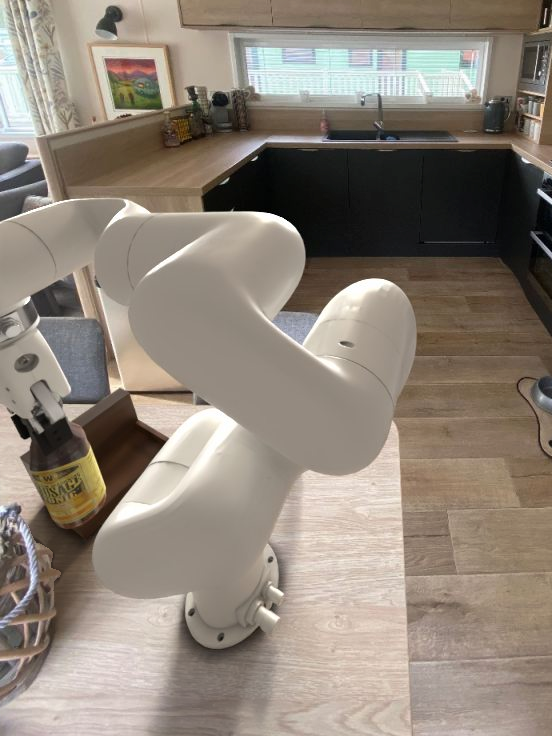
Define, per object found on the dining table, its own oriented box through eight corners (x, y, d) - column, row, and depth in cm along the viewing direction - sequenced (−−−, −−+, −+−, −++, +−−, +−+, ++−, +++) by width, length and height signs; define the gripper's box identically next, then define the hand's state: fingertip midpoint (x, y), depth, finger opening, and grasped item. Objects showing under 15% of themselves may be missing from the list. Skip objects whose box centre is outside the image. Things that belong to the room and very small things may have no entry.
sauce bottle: (46, 537, 53) (-15, 431, 45) (71, 491, 58) (21, 390, 51) (99, 526, 54) (49, 421, 46) (118, 482, 59) (77, 382, 52)
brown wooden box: (174, 455, 75) (160, 410, 70) (85, 540, 62) (61, 491, 57) (134, 431, 80) (119, 387, 75) (44, 504, 67) (19, 456, 62)
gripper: (72, 323, 43) (117, 440, 50) (-3, 288, 50) (46, 394, 57) (-16, 368, 37) (50, 494, 44) (-87, 320, 44) (-21, 435, 51)
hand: (47, 436), depth 50 cm, fingers closed on sauce bottle, 4 cm apart
